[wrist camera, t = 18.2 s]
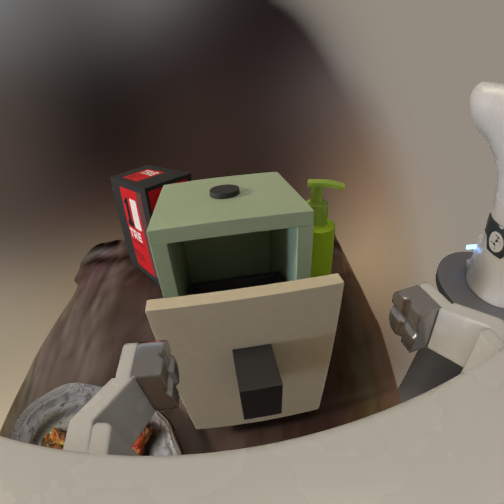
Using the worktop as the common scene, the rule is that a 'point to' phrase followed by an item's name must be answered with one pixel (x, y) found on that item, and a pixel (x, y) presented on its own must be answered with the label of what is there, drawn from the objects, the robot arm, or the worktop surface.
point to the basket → (250, 345)
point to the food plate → (68, 405)
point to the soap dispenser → (322, 227)
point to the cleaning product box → (141, 209)
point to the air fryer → (229, 231)
